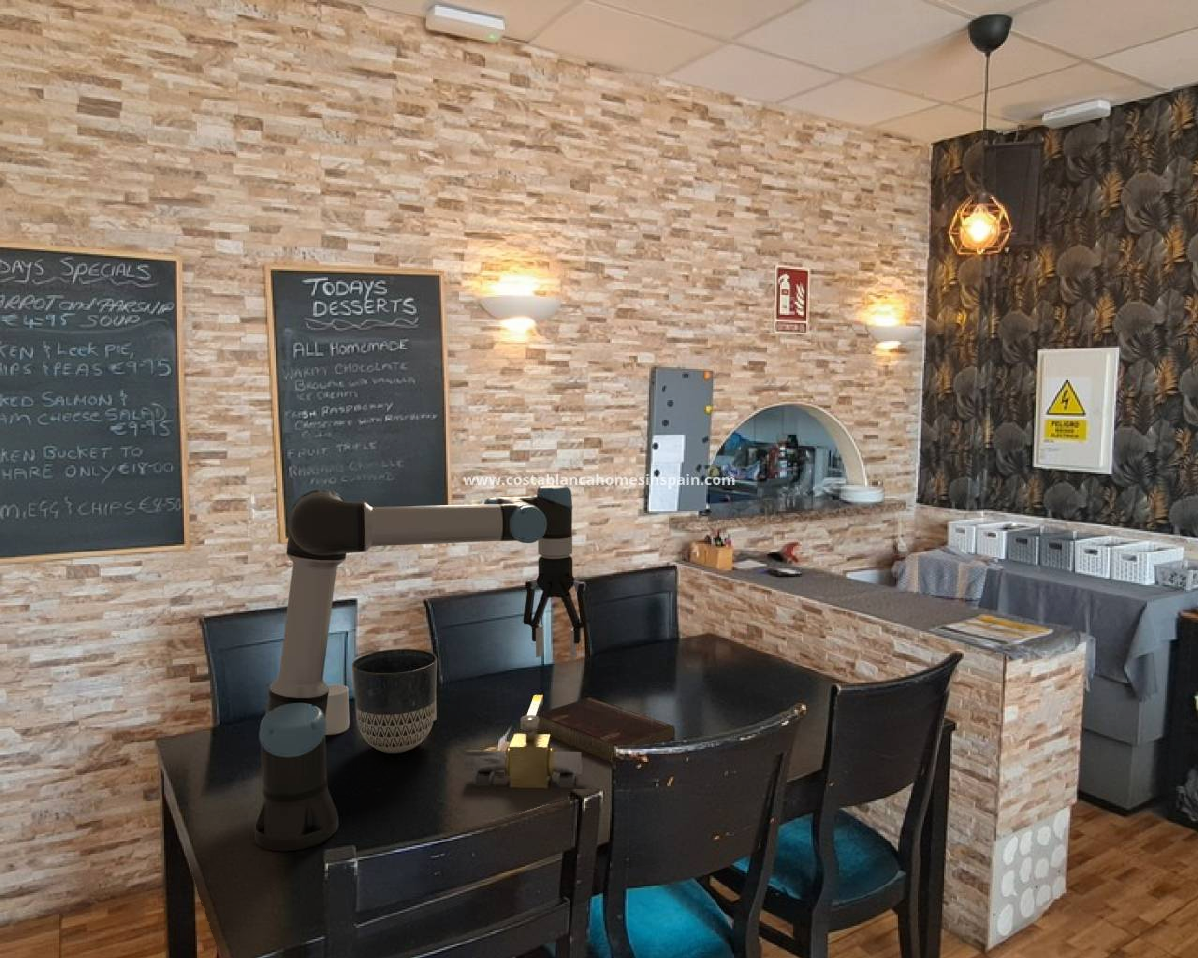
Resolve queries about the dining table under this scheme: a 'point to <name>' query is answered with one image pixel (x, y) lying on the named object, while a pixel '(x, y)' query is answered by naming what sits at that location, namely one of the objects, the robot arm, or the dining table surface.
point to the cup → (337, 710)
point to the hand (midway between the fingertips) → (556, 655)
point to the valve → (525, 762)
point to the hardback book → (602, 727)
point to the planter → (395, 697)
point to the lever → (532, 714)
